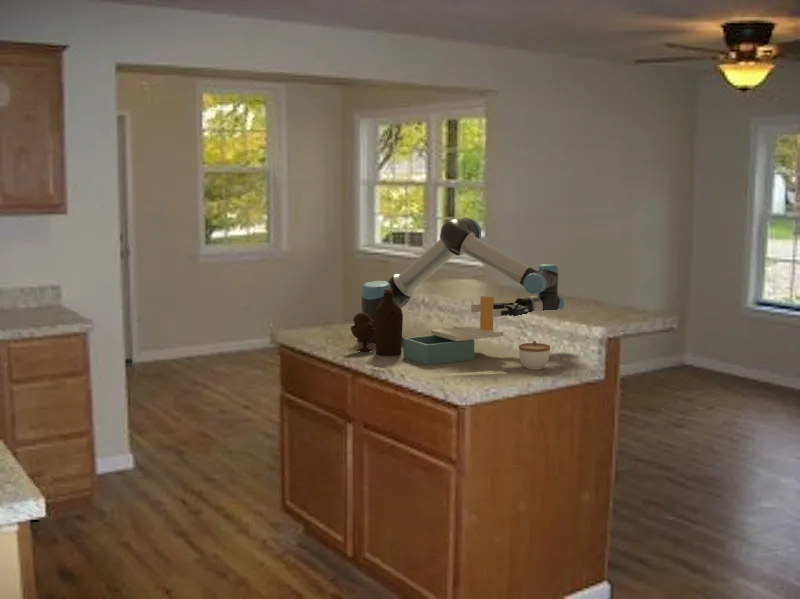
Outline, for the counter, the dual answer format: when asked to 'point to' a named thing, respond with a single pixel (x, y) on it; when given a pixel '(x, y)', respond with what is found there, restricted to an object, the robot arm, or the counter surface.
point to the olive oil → (388, 326)
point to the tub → (437, 350)
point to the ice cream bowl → (363, 330)
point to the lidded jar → (534, 355)
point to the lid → (473, 331)
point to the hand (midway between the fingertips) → (481, 311)
